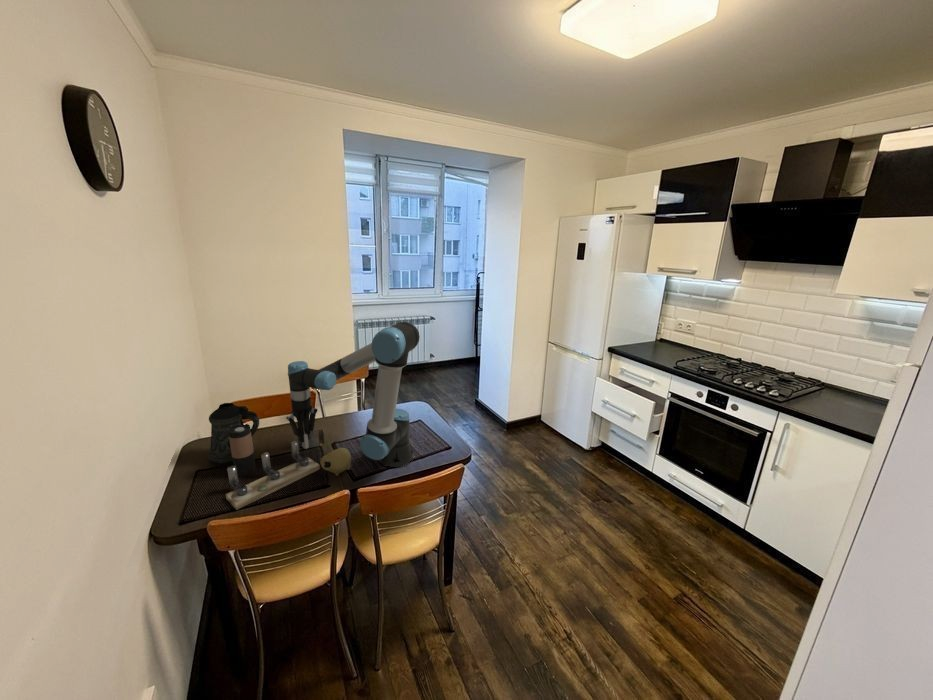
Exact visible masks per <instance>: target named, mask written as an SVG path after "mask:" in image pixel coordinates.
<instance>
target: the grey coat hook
mask: <svg viewBox="0 0 933 700" xmlns="http://www.w3.org/2000/svg"><path fill="white" fill-rule="evenodd" d="M290 449H291V450H290V451H291V456H292V458H293V459H294V460H295V461H297V462H299V463H300V465H301V466H307V465H308V464H309V460H308V458H307V457H303V456H301V455H300V447H299V446H298V440H292V441H290Z"/></svg>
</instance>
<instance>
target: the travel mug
mask: <svg viewBox="0 0 933 700" xmlns="http://www.w3.org/2000/svg"><path fill="white" fill-rule="evenodd" d="M250 429H251V426H250V424H248V423H245V424H244V425H239V424H238V425H234V426H232V427H230V428H229V429H228V434H229V440H230V447H231V453H232V459H233V464H234V466H236V469H237V475H238V478H239V477H243V478H244V477H247V476H250V475H252V474H254V473H255V472H256V469H257V466H256V461H255V460H256V457H255V451H254V450H255V448H254V445H253V438H252V437H253V436H251V430H250Z"/></svg>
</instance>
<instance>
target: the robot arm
mask: <svg viewBox="0 0 933 700" xmlns="http://www.w3.org/2000/svg"><path fill="white" fill-rule="evenodd" d="M419 342H420V331H419V330H418V328H417V327H416V325H415V324H413V323H411V322H409V321H400V322H397V323H395V324H393V325H391V326H388V327H387V326H386V327H385V328H383V329H381V330H380V331H378V332H377V333H376V334H374V336H373V338H372V340H371V343H369V344H367V345H365V346H363V347H361V348H359V349H357V350H355V351H353V352H351V353H350V354H347V355H346V356H343V357H342V358H340V359H337V360H336V361H333V362H332V363H330V364H328V365H326V366H324V367H321V368H319V369H315V368H309V365H308V362H306V361H304V360H298V361H297V360H296V361H293V362H290V363H289V364H288V365H287V376H288V377H287V378H288V385H289V393H290V394H289V396H290V402H291V403H290V405H291V414H290V415H289V416H286V417H285V418H286V420H287V421H288V422H289V424H290V426H291V429H292V432H293V434H294V435H295V436H299V438H300V442H302V448H303V449H304V448H305V450H307V449H310V448H309V444H308V440H309V439H310V435H309V434H310V433H311V432H310V431H313V430H315V429H314V427H315V421H316V414H317V413H318V408H315V407H313V406H312V400H311V389H318V390H319V391H321V390H322V391H330V390H332V389H333V388H334V387H335V385H336V383H337V381H338V380H340V379H342V378H344V377H346V376H348V375H350V374H352V373H354V372H357V371H358V370H361V369H362V368H364V367H367V366H368V365H370V364H373V363H376V364H377V365H378V368H377V376H376V383H375V393H374V399H373V406H372V414H371V418H370V419H369V420H368V421H367V423H366V430H365V431H366V432H365V434H364V435H363V436H362V437H361V438H360V439H359V447H360V450H361V453H362V452H363V454H364V455H365V456H366V457H367V458H368V459H370V460H374V461H379V460H380V461H379V463H380V462H381V463H382V464H384V465H387V466H392V467H399V468H401V467H400V466H403V465H405V464H407V463H409V462H410V461H411V460H412V458H413V459H414V451H413V450H414V449H413V447H412V445H411V443H410V420H411V419H410V414H409V412H408V411H407V410H405V409H402V408H397V404H398V403H397V402H398V397H399V396H398V395H399V389H400V384H401V377H402V372H403V368H404V367H407V364H408V360H409V359H408V358H409V353H410V352H411V351H413V350H414V349H415V348H416V347H417V346H418V345H419ZM295 419H296V421H297V423H296V421H295ZM304 432H305V433H304ZM412 461H413V460H412ZM412 461H411V462H412ZM411 462H410V463H411ZM381 463H380V464H381ZM410 463H409V464H410ZM382 464H381V465H382ZM384 465H383V466H384ZM403 467H404V466H403Z"/></svg>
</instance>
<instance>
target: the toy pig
mask: <svg viewBox="0 0 933 700" xmlns="http://www.w3.org/2000/svg"><path fill="white" fill-rule="evenodd" d="M351 462H352V456H351V453H350V452H349V450H348V449H347V448H345V447H338V448H336V449H334V450H332V451H330V452H329V453H326V455H321V456H320V457H319V463H320V464H319V465H320V467H321V468H322V469H323V470H325V471H328V472H330V473H332V474H335V476H339V475H340V474H341V473H343V472H345V471H346V470H347V471H348V470H350V469H351Z"/></svg>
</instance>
